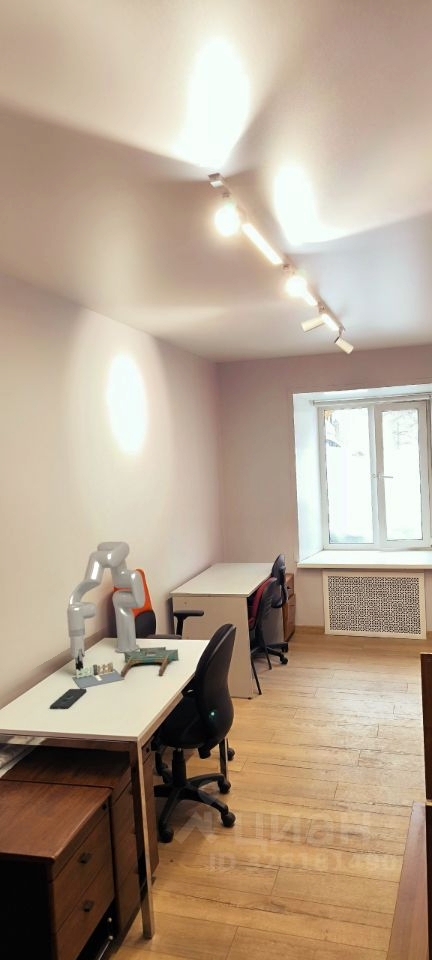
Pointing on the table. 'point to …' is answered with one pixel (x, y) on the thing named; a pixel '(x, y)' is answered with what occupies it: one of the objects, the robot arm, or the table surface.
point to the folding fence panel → (83, 672)
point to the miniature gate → (149, 657)
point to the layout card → (98, 679)
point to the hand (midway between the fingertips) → (79, 671)
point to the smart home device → (68, 699)
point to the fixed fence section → (110, 669)
